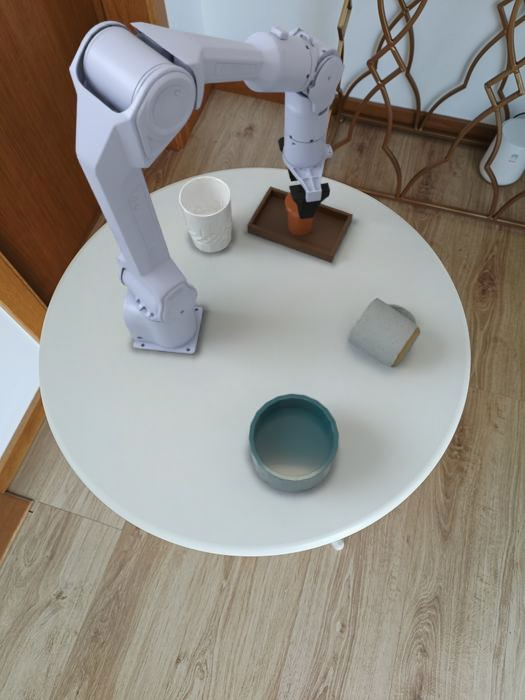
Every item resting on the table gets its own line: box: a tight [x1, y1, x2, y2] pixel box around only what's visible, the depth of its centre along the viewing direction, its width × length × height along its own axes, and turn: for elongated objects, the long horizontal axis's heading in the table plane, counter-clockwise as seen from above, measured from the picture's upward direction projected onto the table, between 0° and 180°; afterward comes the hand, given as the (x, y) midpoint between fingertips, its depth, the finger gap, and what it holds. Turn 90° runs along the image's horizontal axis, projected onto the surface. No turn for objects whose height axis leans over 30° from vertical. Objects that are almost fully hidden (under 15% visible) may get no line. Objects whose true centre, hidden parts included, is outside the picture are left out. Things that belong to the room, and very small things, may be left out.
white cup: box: [178, 175, 233, 254], centre depth 85 cm, size 8×8×10 cm
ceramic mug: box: [347, 297, 421, 368], centre depth 78 cm, size 11×8×8 cm
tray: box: [246, 185, 354, 264], centre depth 89 cm, size 15×9×2 cm, turn 65°
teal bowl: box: [248, 393, 340, 493], centre depth 70 cm, size 11×11×8 cm
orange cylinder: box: [285, 192, 314, 236], centre depth 87 cm, size 5×5×6 cm
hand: (301, 197), depth 84 cm, fingers open, 7 cm apart
